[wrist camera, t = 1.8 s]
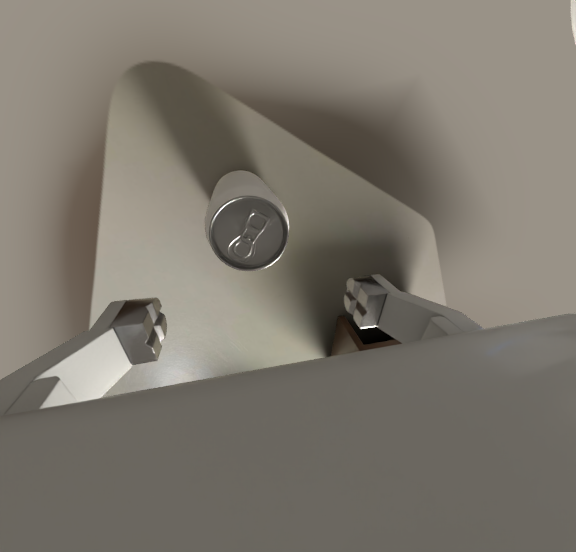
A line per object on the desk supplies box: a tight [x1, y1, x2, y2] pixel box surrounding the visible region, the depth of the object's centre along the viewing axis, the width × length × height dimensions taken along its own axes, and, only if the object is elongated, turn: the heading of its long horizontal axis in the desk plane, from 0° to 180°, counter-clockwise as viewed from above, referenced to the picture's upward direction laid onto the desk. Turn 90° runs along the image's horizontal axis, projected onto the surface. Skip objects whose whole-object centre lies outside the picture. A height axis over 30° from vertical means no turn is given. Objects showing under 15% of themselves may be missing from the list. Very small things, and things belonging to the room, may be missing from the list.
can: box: [205, 170, 289, 271], centre depth 21 cm, size 6×6×12 cm
